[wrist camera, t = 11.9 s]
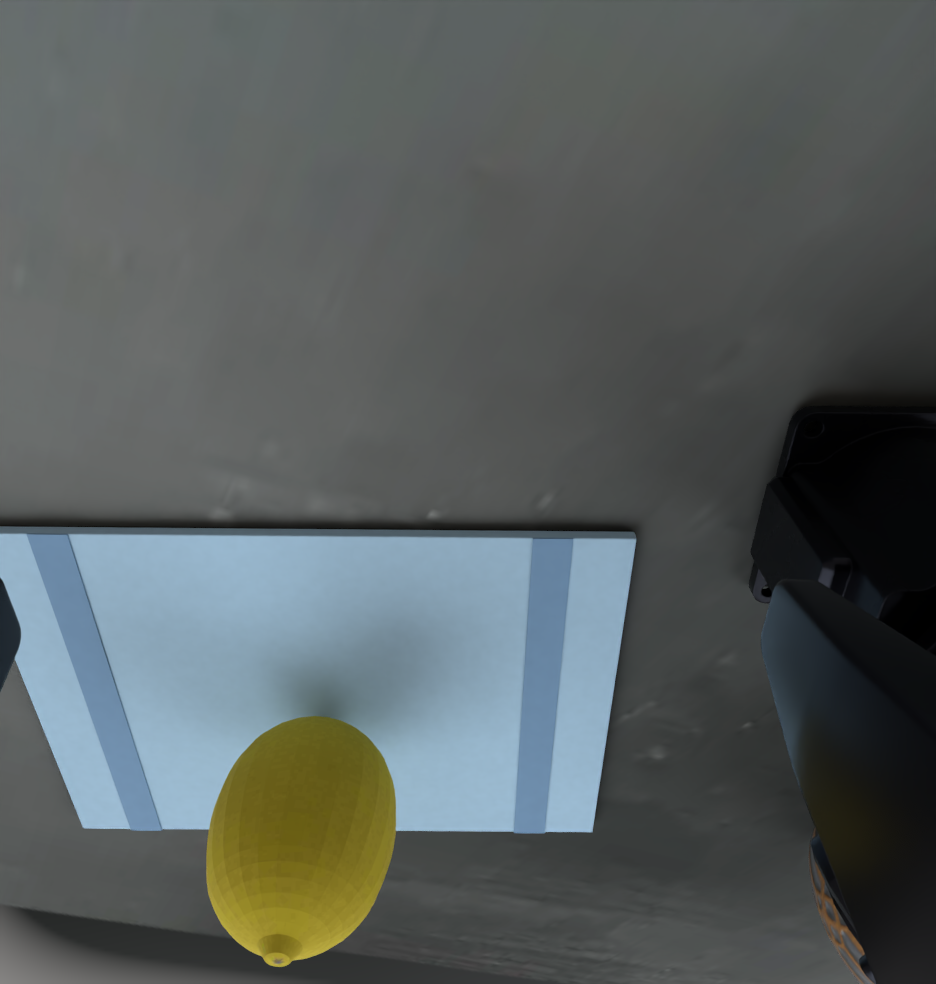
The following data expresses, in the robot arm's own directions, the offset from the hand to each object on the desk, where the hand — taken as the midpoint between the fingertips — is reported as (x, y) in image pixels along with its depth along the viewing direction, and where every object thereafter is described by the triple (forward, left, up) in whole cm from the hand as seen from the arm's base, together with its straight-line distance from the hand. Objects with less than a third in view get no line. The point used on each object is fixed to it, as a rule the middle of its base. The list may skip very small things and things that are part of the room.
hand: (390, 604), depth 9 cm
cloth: (+4, +14, -12) cm, 19 cm away
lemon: (+4, +15, -12) cm, 19 cm away
